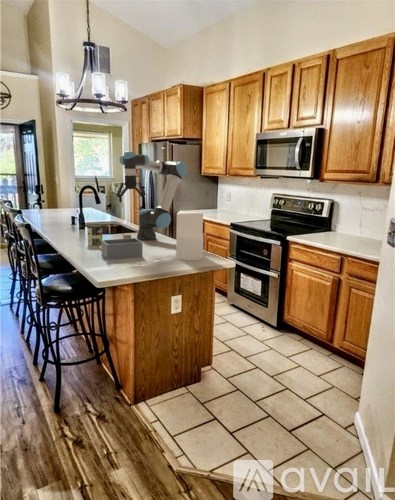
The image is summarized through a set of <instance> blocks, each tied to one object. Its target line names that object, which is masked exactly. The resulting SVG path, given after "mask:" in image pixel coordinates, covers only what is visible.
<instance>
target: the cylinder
mask: <svg viewBox="0 0 395 500" xmlns="http://www.w3.org/2000/svg"><path fill="white" fill-rule="evenodd" d="M203 225H204V212H200V211H179V212H177V213H176V237H175V238H176V242H175V243H176V244H175V245H176V246H175V247H176V248H175V257H176V258H177V259H179V260H185V261H196V260H201V259H203V257H204V237H205V236H204V234H203V230H204V229H203V228H204V227H203Z"/></svg>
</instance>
